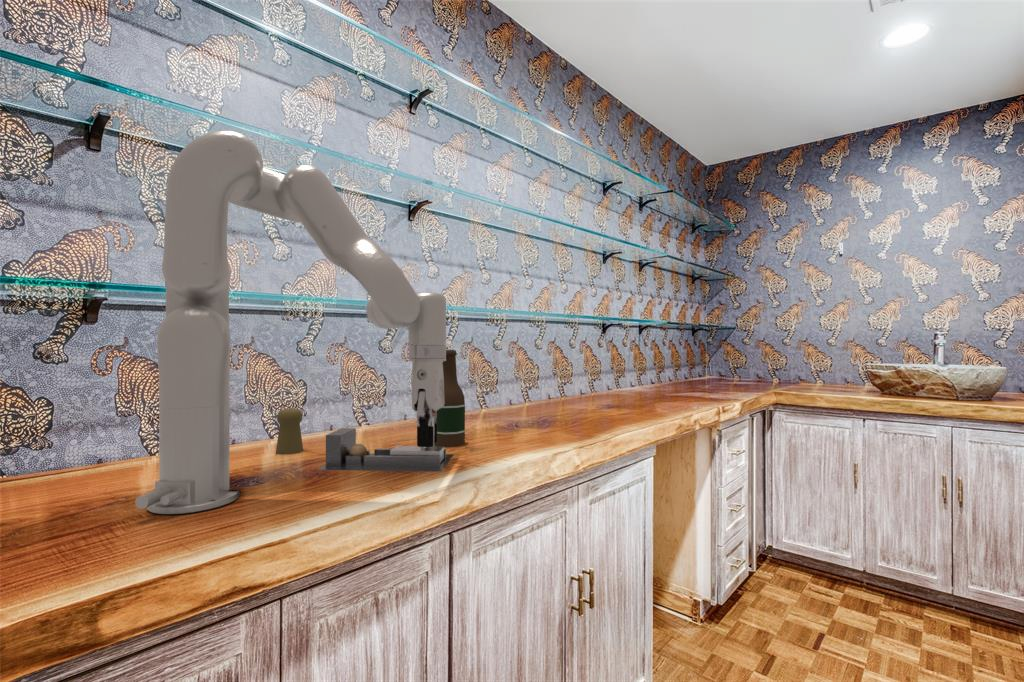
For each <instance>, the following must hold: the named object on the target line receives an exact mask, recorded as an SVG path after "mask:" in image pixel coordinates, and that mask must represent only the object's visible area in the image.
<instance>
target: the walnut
mask: <svg viewBox="0 0 1024 682" xmlns="http://www.w3.org/2000/svg"><path fill="white" fill-rule="evenodd" d="M367 450H368V449H367V447H366V446H365V445H364V444H362V443H356V444H355V445H353V446H352V447H351V448H350V451H349V455H360V456H362V460H363V459H364V456H366V455H367Z"/></svg>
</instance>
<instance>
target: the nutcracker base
mask: <svg viewBox="0 0 1024 682" xmlns="http://www.w3.org/2000/svg"><path fill="white" fill-rule="evenodd" d="M355 444H357V427H356V428H355V427H350V428H349V427H342V428H339V429H337V430H335V431H332V432H330V433H328V434H326V435H325V464H324V465H322V466H320V467H319V468H316V471H361V472H362V471H369V472H371V471H372V472H373V471H374V472H376V471H377V472H380V471H381V472H433V473H434V472H437V473H438V472H439V473H440V472H442V471H443V469H445V467H446V465H447V464H448V463H449V462H450V460H451V459H452V458H453V456H454V454H452V453H450V454H449V453H447V449H445V448H444V459H443V460H442V461H441V463H440V456H390V450H392V449H393V448H375V449H374V450H373V451H374V452H373V453H371V450H368V449H367V455H366V456H364V459H363V460H362V456H360V455H349V451H350V448H351V447H352V446H353V445H355Z"/></svg>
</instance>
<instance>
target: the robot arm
mask: <svg viewBox="0 0 1024 682" xmlns="http://www.w3.org/2000/svg"><path fill="white" fill-rule="evenodd" d="M166 184H167V185H166V193H165V194H166V195H165V212H164V213H165V215H164V231H163V232H164V234H163V235H164V237H163V238H164V241H163V255H162V261H161V271H162V276H163V278H164V280H165V317H164V318H163V320H162V322H161V324H160V325H159V329H158V334H157V340H156V343H157V344H156V345H157V346H156V348H157V363H158V366H157V367H158V408H159V411H158V415H159V417H158V422H159V423H158V427H159V428H158V430H159V431H158V432H159V433H158V437H159V438H158V443H159V444H158V480H156V481H155V482H154V488H153V489H152V491H150V492H147V493H144V494H141V495H139V496H138V497H136V499H135V501H134V503H135V504H134V505H135V506H136V508H137V509H139V510H144V509H146V510H147V511H148V512H149V513H153V514H159V515H181V514H188V513H189V514H190V513H196V512H202V511H208V510H211V509H215V508H219V507H222V506H226V505H227V504H230V503H232V502H234V501H236V500H237V499H238V498H240V495H241V489H230V442H231V441H230V433H231V432H230V430H231V429H230V427H231V426H230V420H231V419H230V416H231V415H230V413H231V412H230V410H231V409H230V407H231V406H230V405H231V404H230V378H231V377H230V370H231V369H230V367H231V366H230V364H231V359H230V358H231V346H232V345H231V344H232V343H231V330H230V327H229V326H230V325H229V324H230V322H229V320H230V316H229V315H230V314H229V313H230V310H229V309H230V274H231V271H230V264H229V260H228V223H229V219H228V218H229V214H228V213H229V203H230V204H233V205H236V206H239V207H241V208H244V209H248V210H250V211H254V212H258V213H262V214H265V215H268V216H271V217H274V218H278V219H282V220H286V221H290V222H294V223H301V225H302V226H303V228H304V229H305V231H307V233H308V234H309V236H310V237H311V238H312V240H313V242H315V243H316V245H317V247H318V248H319V250H320V251H321V253H322V254H323V255H324V256H325V258H326V259H327V260H328V261H329V262H331V263H332V264H333V265H335V266H337V267H339V268H341V269H342V270H344V271H345V272H347V273H349V274H350V276H352V277H354V279H356V280H357V282H358V283H359V284H360V285H361V286H362V288H363V289H364V290H365V291H366V293H367V294H368V295H369V296H370V299H369V300H368V302H367V304H366V310H365V311H366V316H367V318H368V320H369V322H370V323H371V324H373V325H374V326H375V327H376V328H377V327H378V328H380V329H386V330H387V329H388V330H391V329H397V328H398V329H400V328H408V362H412V372H411V374H412V375H411V376H412V377H411V409H412V410H413V411H414V412H416V417H417V418H416V419H417V420H416V446H418V447H432V446H433V445H434V443H436V442H437V410H439V409H440V408H442V407H443V406H444V404H445V396H444V373H443V361H446V350H447V300H446V297H445V296H444V295H443V294H441V293H439V292H416V291H415V289H414V288H413V286H412V285H411V283H410V282H409V280H408V278H407V277H406V276H405V274H404V273H403V271H402V269H401V268H400V267H399V265H398V264H397V263H396V262H395V261H394V260H393V259H392V257H390V255H388V254H387V252H386V251H384V249H382V248H381V247H380V246H379V245H378V244H377V243H376V242H375V241H374V240H373V239H372V238H370V237H369V235H368V234H367V233H366V232H365V230H364V229H363V227H362V226H361V224H360V223H359V222H358V220H357V219H356V217H355V216H354V214H353V212H351V210H350V208H349V207H348V206H347V204H346V203H345V201H344V200H343V198H342V197H341V195H340V193H338V191H337V190H336V188H335V186H334V185H333V184H332V182H331V181H330V180H329V178H328V176H327V175H326V174H325V172H323V171H322V170H321V169H319V168H318V167H316V166H314V165H311V164H299V165H296V166H295V165H294V167H292V168H290V169H289V170H288V171H287V172H286V173H285V174H283V173H280V172H277V171H274V170H271V169H269V168H265V167H264V162H263V158H262V155H261V153H260V150H259V148H258V147H257V146H256V143H254V142H253V141H252V140H251V139H250V138H249V137H248V136H246V135H244V134H242V133H240V132H237V131H234V130H216V131H211V132H207V133H204V134H202V135H200V136H198V137H197V138H194V139H193V140H191V141H190V142H189V143H188V144H187V145H185V146H184V147H183V149H181V151H180V152H179V154H178V155H177V156H176V158H175V159H174V162H172V165H171V168H170V171H169V175H168V179H167V183H166ZM432 411H435V415H434V426H432ZM427 414H428V415H427Z"/></svg>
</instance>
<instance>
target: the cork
mask: <svg viewBox="0 0 1024 682" xmlns="http://www.w3.org/2000/svg"><path fill="white" fill-rule="evenodd" d="M302 419H303V412H302V410H300V409H299V408H293V407H291V408H290V407H289V408H284V409H281V410H279V411H278V413H277V415H276V421H277V422H278V424H279V427H278V434H277V441H276V449H275V453H274V454H275V456H276V455H294V454H300V453H303V452H304V446H303V438H302V437H303V436H302V432H301V422H302V421H303V420H302Z"/></svg>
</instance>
